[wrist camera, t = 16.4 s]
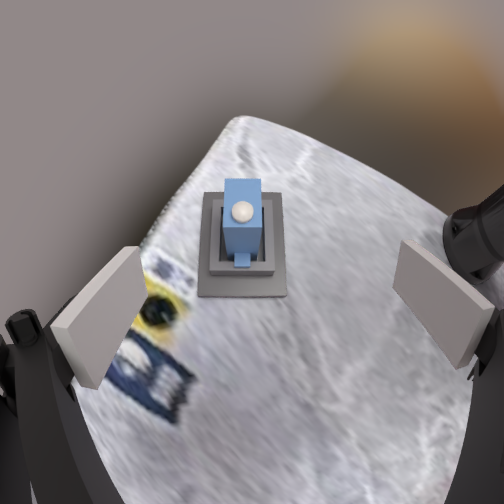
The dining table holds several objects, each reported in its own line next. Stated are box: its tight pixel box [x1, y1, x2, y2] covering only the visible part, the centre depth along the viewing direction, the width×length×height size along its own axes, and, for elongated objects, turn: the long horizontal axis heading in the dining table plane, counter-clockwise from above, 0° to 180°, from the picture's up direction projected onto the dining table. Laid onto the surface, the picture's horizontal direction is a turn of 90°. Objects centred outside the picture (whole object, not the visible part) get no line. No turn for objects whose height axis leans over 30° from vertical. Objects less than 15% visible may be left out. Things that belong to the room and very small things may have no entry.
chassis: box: [198, 192, 287, 297], centre depth 39 cm, size 16×12×4 cm
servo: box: [223, 179, 262, 268], centre depth 34 cm, size 10×4×12 cm, turn 0°
